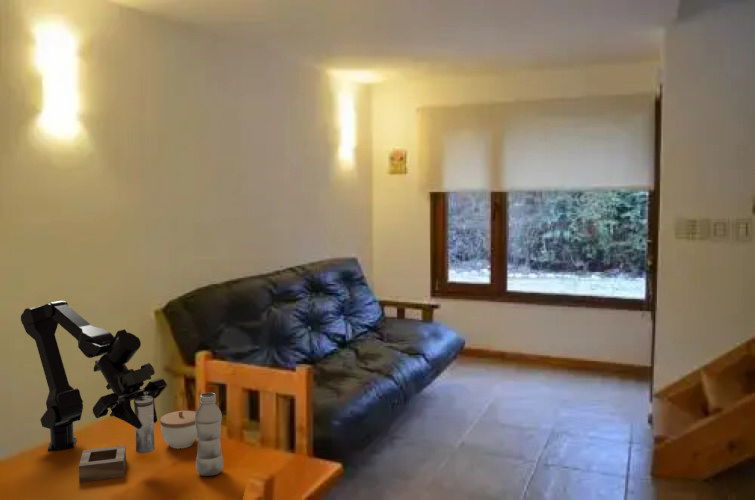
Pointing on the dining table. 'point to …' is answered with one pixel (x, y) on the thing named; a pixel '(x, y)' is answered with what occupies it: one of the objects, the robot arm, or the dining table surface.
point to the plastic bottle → (208, 436)
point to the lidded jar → (179, 429)
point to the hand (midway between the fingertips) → (148, 424)
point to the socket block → (102, 463)
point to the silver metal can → (144, 424)
